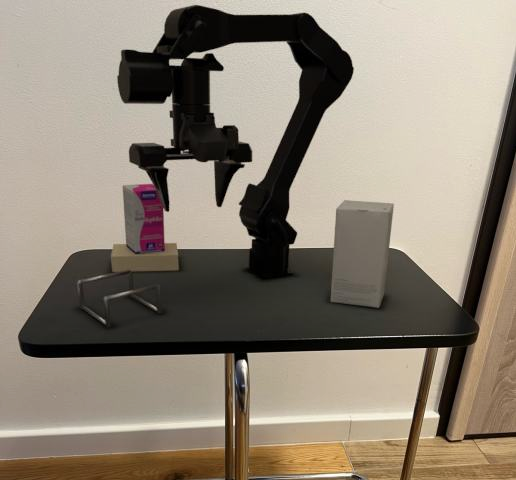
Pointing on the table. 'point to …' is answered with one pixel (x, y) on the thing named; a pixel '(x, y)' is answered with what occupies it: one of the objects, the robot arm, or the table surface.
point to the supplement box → (143, 219)
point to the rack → (118, 295)
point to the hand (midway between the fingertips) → (193, 209)
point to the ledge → (144, 259)
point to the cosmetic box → (361, 252)
